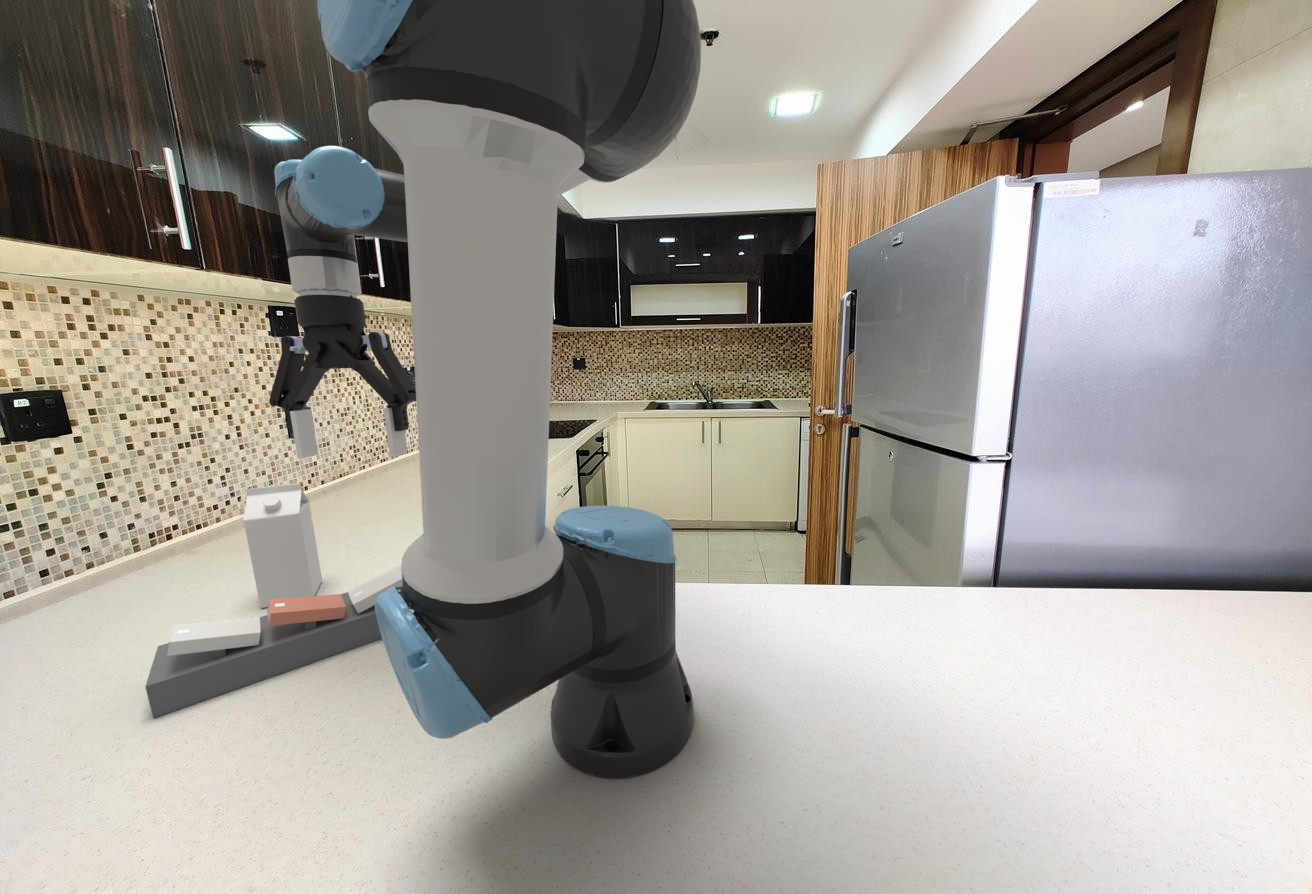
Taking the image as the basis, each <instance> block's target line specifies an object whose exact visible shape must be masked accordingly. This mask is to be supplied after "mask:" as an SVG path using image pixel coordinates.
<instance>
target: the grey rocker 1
mask: <svg viewBox="0 0 1312 894" xmlns="http://www.w3.org/2000/svg"><path fill="white" fill-rule="evenodd" d="M260 617H261V616H256V617H243V618H236V619H234V618H233V619H223V620H222V619H221V620H213V621H201V622H200V621H199V622H192V623H191V622H190V623H179V624H178V623H176V624H173V628H172V630H171V633H170V634H171V635H170V638H169V642H168V643H169V647H168V653H167V656H171V655H180V654H188V653H196V652H204V651H213V650H221V649H229V648H238V647H246V646H254V645H259V639H260V633H261V630H260Z"/></svg>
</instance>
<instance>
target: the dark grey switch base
mask: <svg viewBox="0 0 1312 894" xmlns="http://www.w3.org/2000/svg"><path fill="white" fill-rule="evenodd" d="M348 592H349V591H347V592H344V593H340V594H341V596H342V599H343V601H344V604H345V606H346V609H345V615H344V618H342V619H332V620H322V621H312V622H303V623H293V624H283V625H273V626H269V623H268V614H266V615H262V616H259V617H260V630H261V633H260V639H259V645H254V646H246V647H238V648H229V649H221V650H213V651H204V652H196V653H188V654H180V655H171V656H167V653H168V647H169V642H168V643H164V644H160V645H157V648H156V652H155V655H154V657H153V661H152V664H151V667H150V670H149V674H148V677H147V680H146V683H145V685H144V686H145V691H146V694H147V699H148V701H149V702H148V703H149V706H150V711H151V715H152V718H153V719H156V718H159V717H163V716H164V715H167V714H171V713H173V712H175V711H179V710H182V709H185V708H187V707H190V706H193V705H196V704H198V703H202V702H204V701H208V700H209V699H212V698H215V697H219V696H221V695H224V694H227V693H231V692H233V691H235V690H239V689H241V688H244V687H246V686H250V685H253V684H256V683H258V682H262V681H264V680H267V679H270V678H272V677H276V676H278V675H281V674H284V673H287V672H289V671H292V670H295V669H298V668H302V667H304V666H307V665H310V664H313V663H316V662H318V661H322V660H325V659H327V658H330V657H333V656H336V655H338V654H341V653H344V652H347V651H350V650H353V649H356V648H358V647H360V646H365V645H367V644H369V643H373V642H375V641H378V640H381V639H382V636H381V633H380V630H379V626H378V623H377V618H376V614H375V605H374V606H372V607H370V608H368V609H366V610H364V611H363V612H361V613H359V614H358V612H357V611H356V609H355V607H354V605H353V603H352V601H351V599H350V596H349V594H348ZM382 640H383V639H382Z"/></svg>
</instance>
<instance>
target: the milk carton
mask: <svg viewBox="0 0 1312 894" xmlns="http://www.w3.org/2000/svg"><path fill="white" fill-rule="evenodd" d="M245 491H246V495H247V497H246V501H245V507H244V513H243V517H242V518H243V525H244V529H245V536H246V540H247V545H248V550H249V551H248V552H249V555H250V560H251V561H250V562H251V567H252V570H253V576H254V581H255V586H256V592H257V597H258V601H259V607H260V608H261V609H263V608H265V609H266V608H268V605H269V599H279V598H293V597H307V596H316V593H317V592H318V590H319V588H320V586H321V584H322V581H323V577H322V570H321V565H320V559H319V557H320V556H319V551H318V547H317V539H316V536H315V527H314V523H313V516H312V510H311V504H310V500H309V499H308V497H307V495H306V494H305V492H304V491H303V488H302V484H301V483H293V484H292V483H291V484H281V485H273V486H264V487H254V488H247V489H245Z"/></svg>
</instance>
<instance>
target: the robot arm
mask: <svg viewBox="0 0 1312 894" xmlns="http://www.w3.org/2000/svg"><path fill="white" fill-rule="evenodd" d="M695 5H696V4H695V2H694V0H316V7H317V15H318V20H319V23H320V24H321V25H320V27H321V38H322V40H323V41H322V42H323V43H324V47H325V49H326V51H328V53H329V55H330V56H331V57H332V58H333V59H335V60H336V61H337V62H339V63H341V64H343V65H344V66H345V68H346V69H347V70H348V71H349V72H352V73H355V74H357V73H358V72H360V71H361V72H362V73H363V74H364V76H365V83H366V94H367V95H366V96H367V105H368V106H367V107H368V108H367V109H368V112H367V113H368V120H369V122H370V123H371V124H372V126H373V127H374V128H375V129H376V130H377V131H378V133H379V134H380V135H381V136H382V137H383V139H384V140H385V141H386V142H387V143H388V145H390V147H391V148H392V149H393V151H394V152H395V153H396V154H397V155H398V157H399V159H400V160H401V163H402V165H403V174H402V173H401V174H400V173H396V172H393V171H389V170H384V169H383V170H382V169H381V168H380V169H379V168H375V167H374V166H373V165H372V164H371V163H370V161H368V160H366V159H364V158H363V156H361V155H359V154H358V153H356V152H355V151H353V150H351V149H349V148H346V147H343V146H338V145H324V146H319V147H317V148H315V149H313V150H312V151H310V152H309V153H308V154H307V155H306V156H305V157H303V158H302V159H288V160H285V161H280V162H278V163H277V164H276V166H275V167H274V178H275V179H274V181H275V189H274V194H275V198H276V199H277V203H278V208H279V209H278V210H279V214H280V219H281V226H282V231H283V236H284V242H285V247H286V254H287V263H288V269H289V276H290V284H291V290H292V292H293V293H294V294H298V296H296V297H295V299H294V307H295V313H296V319H297V323H298V326H300V327H301V328H302V330H303V337H302V336H292V335H291V336H290V335H284V336H283V335H282V336H281V338H280V346H281V347H280V348H281V356H280V358H279V363H278V366H277V370H276V373H275V377H274V381H273V385H272V389H271V392H270V395H269V400H268V403H269V404H270V406H272V407H278V408H281V409H283V411H285V412H286V418H287V426H288V429H289V432H290V434H292V435H293V438H294V439H293V440H294V443H295V451H296V455H297V456H296V457H297V459H305V458H309V457H313V456H317V455H319V449H318V444H317V443H318V442H317V437H316V431H315V424H314V421H313V420H314V419H313V413H312V409H311V408H309V406H308V405H307V403H308V402H309V400H310V399H311V398H312V395H313V394H314V392H315V391H316V388H317V387H318V385H319V383H320V382H321V381H322V378H323V377H324V376H325V374H326V373H327V372H329V371H330V370H338V369H339V370H340V369H351V370H352V371H355V372H356V373H357V374H359V375H360V377H361V378H362V379H364V380H365V382H367V384H368V385H369V386H370V387H371V388H372V389H373V390H374V391H375V393H376V394H378V396H379V397H380V398H381V399H382V400H383V401H384V402H385V403H386V404H387V405H386V406H385V407H384V408H382V409H383V417H384V424H385V430H386V431H385V432H386V438H387V446H388V453H389V457H391V458H392V457H393V458H395V457H399V456H401V455H405V454H408V447H407V439H406V438H407V437H406V433H405V432H406V431H407V430H409V427H410V424H409V416H408V405H409V404H411V403H413V402H416V403H415V404H416V420H417V421H416V422H417V439H418V441H417V442H418V455H419V456H418V458H419V459H418V460H419V475H420V495H421V510H422V511H421V513H422V514H421V515H422V516H421V517H422V528H423V529H422V530H423V531H422V534H421V535H420V536H419V537H418V538H416V539H415V540H414V541H413V542H411V543H410V545H409V546H408V547H407V548H406V550H405V551H404V553H403V556H402V558H401V564H402V566H401V571H402V586H401V587H390V588H389V589H388V590H387V591H385V592H383V593H382V594H380V595H379V596H378V597H377V599H376V601H375V603H376V604H375V614H376V618H377V623H378V626H379V630H380V633H381V636H382V643H383V645H384V648H385V651H386V654H387V657H388V658H389V662H390V665H391V667H392V669H393V671H394V674H395V677H396V679H397V681H398V684H399V686H400V688H401V691H402V693H403V695H404V698H405V699H406V701H407V704H408V705H409V707H410V710H411V712H412V713H413V716H414V717H415V719H416V721H417V722H418V724H419V726H420V727H421V728H422V729H423V730H424V732H426V734H428V735H429V736H430V737H432V738H436V739H444V740H445V739H446V740H448V739H451V738H454V737H457V736H458V735H461V734H463V733H465V732H467V731H469V730H471V729H473V728H475V727H477V726H479V725H481V724H483V723H484V724H488V723H489V722H490V721H493V718H495V717H497V716H499V715H500V714H502V713H504V712H505V711H507V710H509V709H510V708H512V707H514V706H516V705H517V704H519V703H521V702H523V701H524V700H526V699H528V698H529V697H531V696H533V695H534V694H536V693H538V692H540V691H542V690H543V689H545V688H547V687H548V686H551V685H552V684H554V683H555V682H557V683H556V688H555V692H554V695H553V697H552V701H551V706H550V729H551V737H552V741H553V744H554V746H555V749H556V751H557V752H558V754H559V755H560V756H561V757H562V759H564V761H566V763H568V764H569V765H571V766H572V767H574V768H575V769H577V770H579V771H581V772H583V773H586V774H587V775H588V774H589V775H592V776H596V777H600V778H608V779H609V778H610V779H619V778H620V779H621V778H631V777H636V776H640V775H643V774H648V773H650V772H653V771H655V770H657V769H659V768H660V767H662V766H664V765H666V764H667V763H669V762H671V760H673V759H674V758H675V757H676V756H677V755H678V754H679V753H680V752H681V751H682V750H683V748H684V747H685V745H686V744H687V742H688V741H689V740H690V739H689V738H690V736H691V734H692V731H693V726H694V700H693V699H694V698H693V694H692V691H691V687H690V685H689V682H688V678H687V676H686V674H685V671H684V668H683V666H682V663H681V661H680V660H681V659H680V658H679V655H678V653H677V650H676V649H677V647H676V645H677V644H676V641H677V640H676V562H677V556H676V554H675V549H674V548H675V546H674V535H673V534H674V533H673V529H672V527H671V525H670V523H668V521H667V520H666V519H664V518H663V517H661V516H660V515H658V514H656V513H653V512H650V511H648V510H643V509H639V508H634V507H629V506H619V505H587V506H579V507H574V508H573V507H572V508H568V509H566V510H564V511H562V512H560V514H558V515H557V517H555V522H554V525H553V526H552V527H553V531H552V530H551V529H549V527H547V526H546V518H547V517H546V514H547V511H546V510H547V490H548V489H547V487H548V485H547V484H548V463H549V462H548V461H549V460H548V458H549V440H550V439H549V435H550V434H549V433H550V412H551V411H550V410H551V409H550V407H551V404H550V403H551V384H552V383H551V381H552V378H551V377H552V353H553V351H552V350H553V327H554V326H553V325H554V305H555V304H554V303H555V300H554V299H555V280H556V278H555V276H556V247H557V225H558V223H557V221H558V197H559V196H561V195H563V194H566V193H567V192H569V191H571V190H573V189H574V188H576V187H578V186H580V185H583V184H584V183H586V182H588V181H591V180H592V181H594V182H598V183H604V184H606V183H613V182H615V181H617V180H620V179H622V178H624V177H626V176H629V175H630V174H633V173H635V172H637V171H639V170H640V169H642V168H643V167H646V166H647V165H648V164H650V163H651V162H652V161H654V160H655V159H656V158H658V157H659V156H660V155H661V154H663V152H664V151H665V150H666V149H667V148H668V147H669V146H670V144H672V142H673V141H675V140H676V138H677V136H678V134H679V132H680V131H681V129H682V127H684V126H683V125H685V122H686V120H687V119H688V116H689V114H690V112H691V108H692V106H693V104H694V103H693V102H694V100H695V98H696V95H697V89H698V83H699V79H700V74H701V66H702V65H701V58H702V37H701V30H700V25H699V24H700V23H699V19H698V13H697V9H696V6H695ZM355 236H361V237H367V238H375V239H380V240H381V239H382V240H387V241H396V242H397V241H398V242H404V243H407V250H408V251H407V252H408V269H409V288H410V289H409V290H410V305H411V306H410V308H411V324H412V325H411V326H412V346H413V347H412V348H413V363H414V365H413V366H414V381H415V382H414V383H415V385H414V383H413V382H412V380H411V378H410V377H409V375H408V373H407V371H406V370H405V369H404V367H403V365H402V363H401V362H400V360H399V358H398V357H397V355H396V353H395V352H394V350H393V347H392V343H391V339H390V335H389V334H388V333H386V332H378V331H370V332H369V333H368V334H367V333H366V332H365V327H366V326H367V321H366V315H365V313H366V312H365V306H364V302H363V301H362V299H360V298H358V297H359V296H361V295H362V287H361V280H360V272H359V267H358V265H359V264H358V258H357V251H356V244H355V243H356V242H355ZM368 348H369V349H370V350H371V351H372V353H373V355H374V358H375V359H376V361H377V363H378V365H380V367H381V368H378V367H377V365H376V362H375V361H374V360H373V359H372V358H371V357H370V356H369V354H367V352H366V351H367V349H368ZM306 352H307V353H308V354H306ZM305 355H306V357H305ZM380 369H382V371H383V372H384V373H383V372H382V371H381V370H380Z"/></svg>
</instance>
